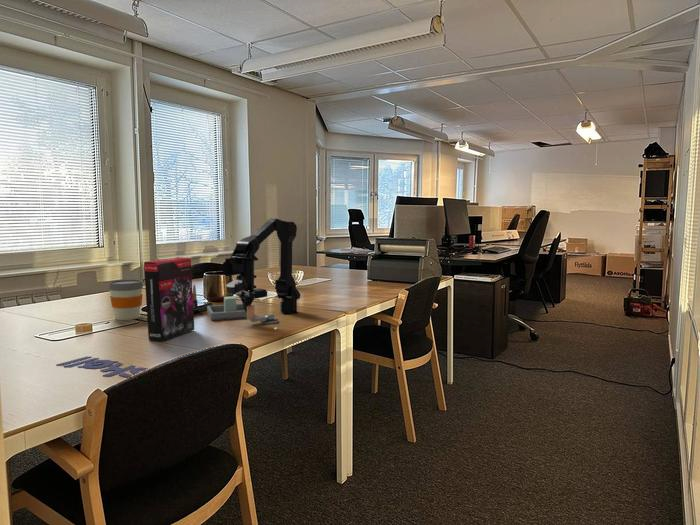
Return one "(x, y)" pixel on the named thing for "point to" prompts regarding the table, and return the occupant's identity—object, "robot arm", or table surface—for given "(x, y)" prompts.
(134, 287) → the reusable coffee cup
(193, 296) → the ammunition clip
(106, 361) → the signage
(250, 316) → the crank
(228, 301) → the block
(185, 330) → the graphics card box
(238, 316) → the tray
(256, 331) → the table surface
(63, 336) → the table surface
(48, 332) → the table surface
